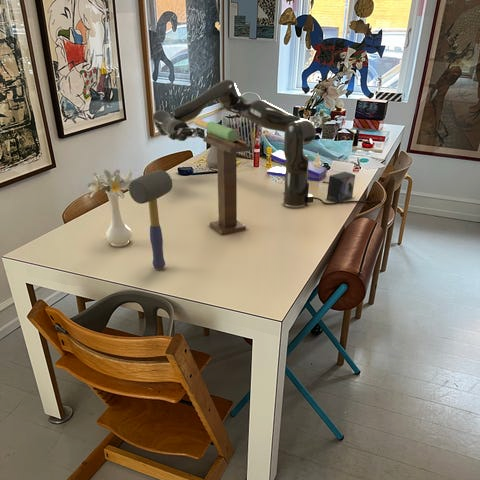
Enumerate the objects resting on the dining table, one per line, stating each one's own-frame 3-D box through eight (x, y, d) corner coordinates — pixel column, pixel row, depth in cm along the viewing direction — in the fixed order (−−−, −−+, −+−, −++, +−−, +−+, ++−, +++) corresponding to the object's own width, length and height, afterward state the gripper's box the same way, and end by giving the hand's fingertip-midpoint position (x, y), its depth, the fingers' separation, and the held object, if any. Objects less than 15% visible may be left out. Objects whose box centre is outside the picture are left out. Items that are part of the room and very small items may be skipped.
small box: (337, 203, 204) (340, 178, 198) (325, 199, 208) (328, 175, 202) (353, 198, 209) (356, 174, 204) (341, 194, 213) (344, 170, 208)
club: (192, 128, 179) (191, 116, 177) (201, 127, 181) (201, 115, 179) (227, 142, 159) (227, 130, 157) (238, 141, 161) (238, 129, 158)
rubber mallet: (156, 279, 146) (145, 181, 129) (137, 273, 149) (124, 177, 133) (180, 263, 155) (173, 170, 138) (162, 258, 158) (153, 166, 142)
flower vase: (148, 235, 175) (140, 165, 161) (123, 255, 160) (112, 180, 146) (116, 230, 178) (106, 162, 164) (89, 250, 163) (75, 177, 150)
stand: (204, 222, 186) (200, 134, 168) (226, 217, 190) (225, 131, 172) (228, 239, 171) (227, 145, 153) (252, 234, 175) (254, 142, 158)
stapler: (275, 168, 249) (276, 149, 244) (327, 175, 238) (329, 155, 233) (266, 174, 240) (267, 154, 235) (319, 181, 230) (321, 160, 224)
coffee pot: (202, 167, 251) (201, 137, 242) (211, 162, 260) (210, 133, 251) (240, 171, 244) (240, 141, 236) (248, 166, 253) (248, 136, 245)
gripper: (160, 121, 196) (176, 128, 184) (192, 118, 202) (209, 125, 190) (162, 140, 200) (178, 148, 188) (193, 137, 206) (210, 144, 194)
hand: (193, 136), depth 189 cm, fingers open, 8 cm apart
